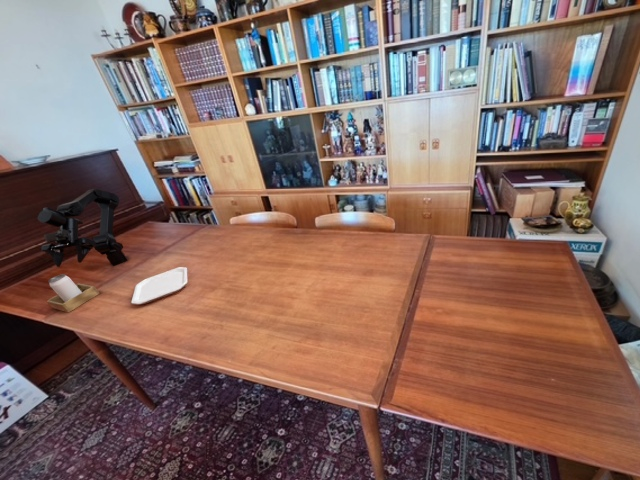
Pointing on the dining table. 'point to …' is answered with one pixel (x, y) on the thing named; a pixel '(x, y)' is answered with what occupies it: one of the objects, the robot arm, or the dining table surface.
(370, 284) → the dining table surface
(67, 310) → the wooden frame
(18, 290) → the dining table surface
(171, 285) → the plate
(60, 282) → the can
